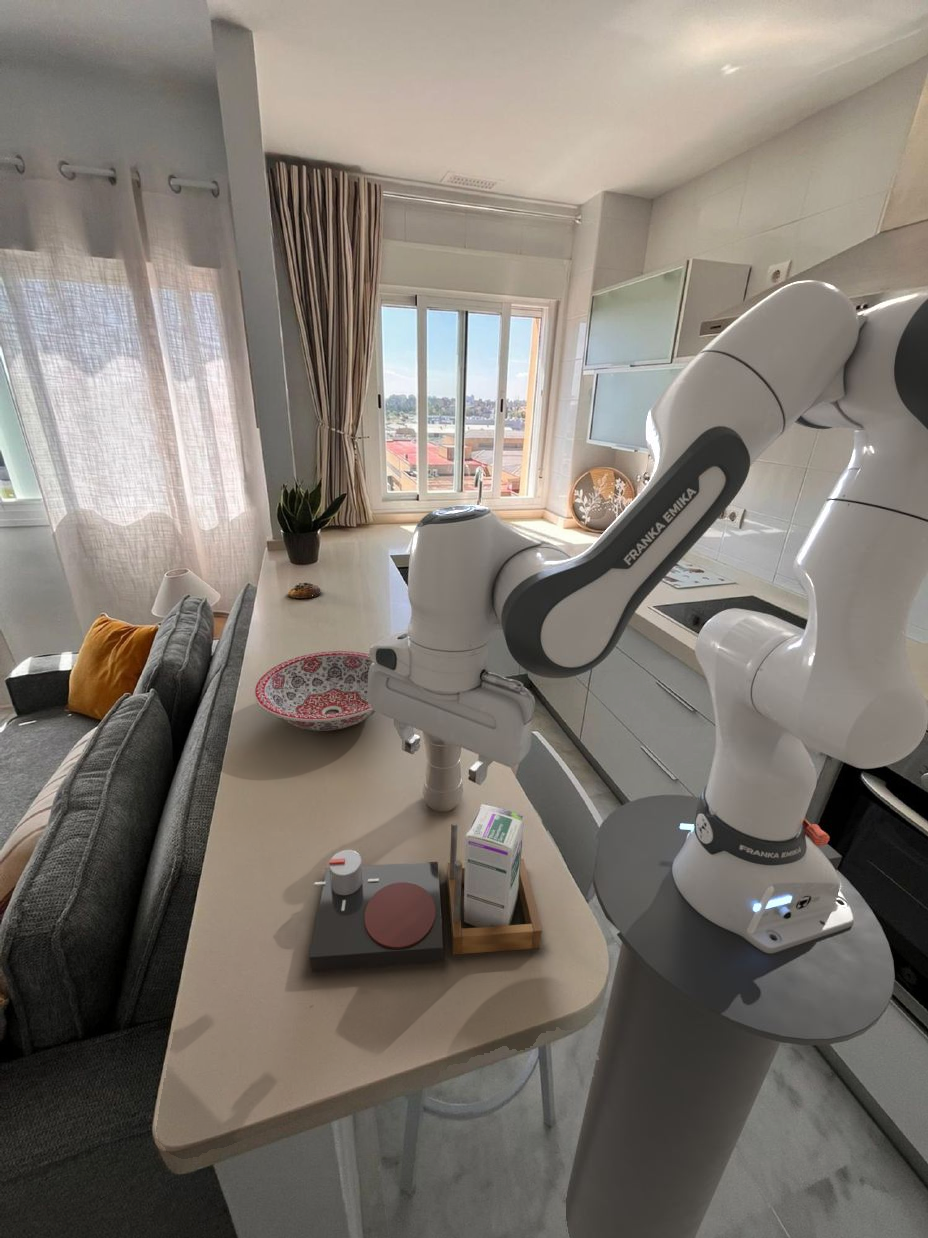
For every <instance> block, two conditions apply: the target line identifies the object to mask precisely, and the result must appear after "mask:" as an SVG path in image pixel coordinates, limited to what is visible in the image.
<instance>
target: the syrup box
mask: <svg viewBox="0 0 928 1238" xmlns="http://www.w3.org/2000/svg"><path fill="white" fill-rule="evenodd" d="M524 823H525V817H524V815H521V814H520V813H516V812H513V811H510V810H507V809H504V808H501V807H496V806H492V805H487V804H483V803H482V804H480V807H479V808H478V811H477V813H476V815H475V816H474V818H473V820H472V822H471V824H470V826H469V829H468V831H467V833H466V835H465V848H464V849H465V850H464V862H465V880H464V884H463V885H464V886H463V887H464V888H463V895H464V896H463V922H464V923H465V924H468V925H470V926H473V927H475V928H480V927H494V926H508V925H511V923H512V921H513V920H512V919H513V917H514V913H515V910H516V907H517V904H518V900H519V891H518V889H519V877H520V864H521V859H522V853H523V852H522V848H523V836H524Z"/></svg>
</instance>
